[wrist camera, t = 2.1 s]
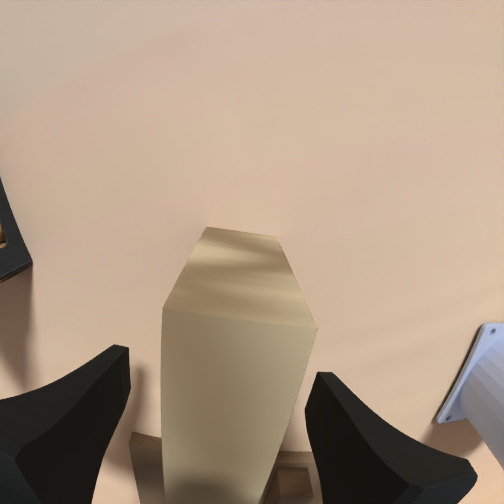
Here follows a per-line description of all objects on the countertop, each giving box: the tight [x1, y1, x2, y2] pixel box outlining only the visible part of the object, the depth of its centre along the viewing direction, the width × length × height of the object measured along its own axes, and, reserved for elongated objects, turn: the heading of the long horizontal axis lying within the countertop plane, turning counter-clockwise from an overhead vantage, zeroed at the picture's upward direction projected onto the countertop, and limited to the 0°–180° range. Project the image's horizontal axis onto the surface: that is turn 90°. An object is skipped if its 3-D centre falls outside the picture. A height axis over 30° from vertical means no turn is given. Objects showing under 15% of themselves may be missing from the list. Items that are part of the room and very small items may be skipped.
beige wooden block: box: [161, 227, 318, 504], centre depth 11 cm, size 3×10×8 cm, turn 171°
